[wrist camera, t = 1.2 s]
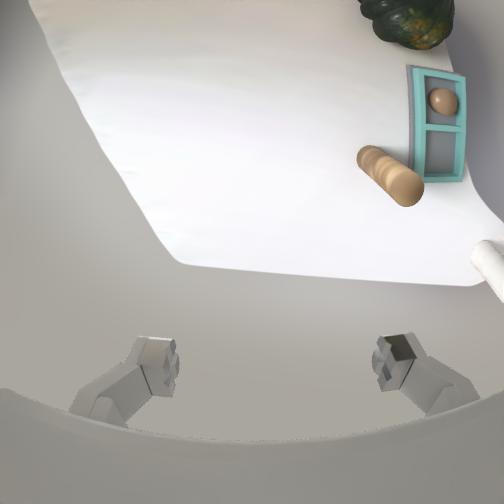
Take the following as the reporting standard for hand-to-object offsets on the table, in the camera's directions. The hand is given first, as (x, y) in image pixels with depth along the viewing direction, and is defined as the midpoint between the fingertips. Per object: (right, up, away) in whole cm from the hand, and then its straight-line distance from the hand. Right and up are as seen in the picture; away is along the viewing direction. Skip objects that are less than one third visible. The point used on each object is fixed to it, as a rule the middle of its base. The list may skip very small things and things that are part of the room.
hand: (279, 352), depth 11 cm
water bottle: (+51, +4, +40) cm, 66 cm away
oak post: (+18, +19, +31) cm, 41 cm away
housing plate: (+30, +25, +27) cm, 47 cm away
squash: (+20, +41, +17) cm, 49 cm away
